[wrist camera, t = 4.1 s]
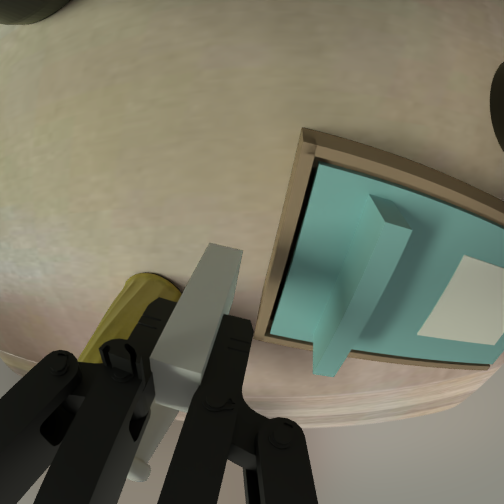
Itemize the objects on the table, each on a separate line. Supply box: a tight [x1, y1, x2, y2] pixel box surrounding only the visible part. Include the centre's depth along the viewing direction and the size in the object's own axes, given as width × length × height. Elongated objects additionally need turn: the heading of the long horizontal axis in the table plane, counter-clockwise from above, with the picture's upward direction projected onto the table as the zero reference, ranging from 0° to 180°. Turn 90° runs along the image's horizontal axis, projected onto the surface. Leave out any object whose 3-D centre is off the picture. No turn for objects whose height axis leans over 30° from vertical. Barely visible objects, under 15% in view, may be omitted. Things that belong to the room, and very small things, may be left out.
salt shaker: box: [127, 397, 179, 482], centre depth 27 cm, size 6×6×13 cm
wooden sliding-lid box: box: [253, 128, 504, 370], centre depth 17 cm, size 12×20×5 cm, turn 80°
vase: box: [77, 273, 182, 363], centre depth 19 cm, size 6×6×14 cm
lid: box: [270, 161, 504, 377], centre depth 14 cm, size 10×19×4 cm, turn 80°
